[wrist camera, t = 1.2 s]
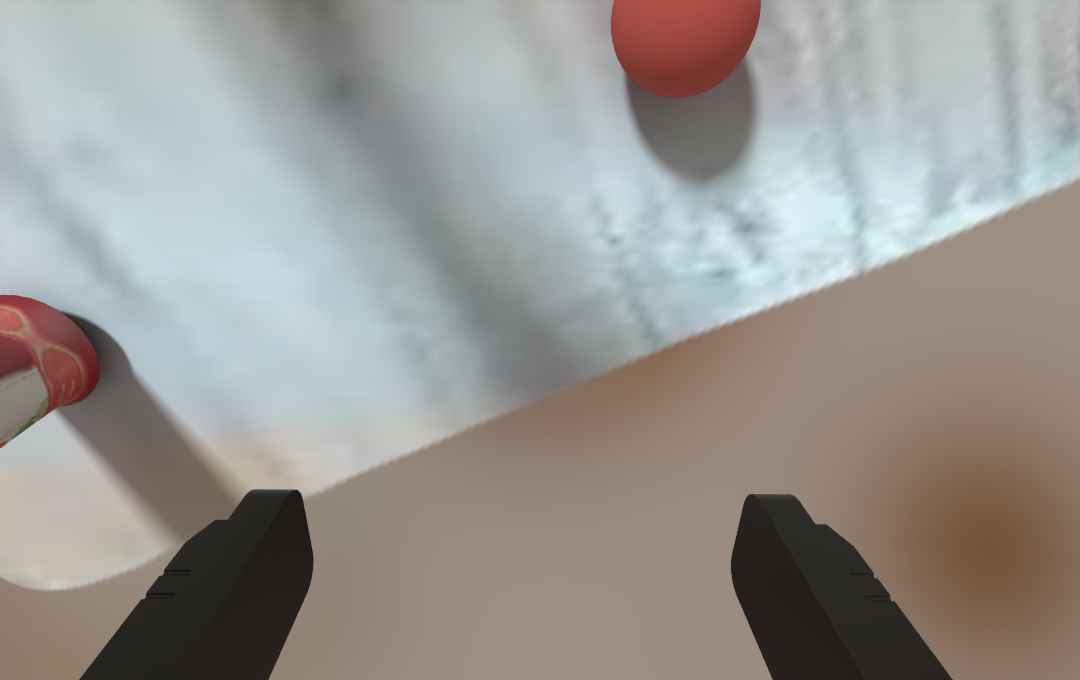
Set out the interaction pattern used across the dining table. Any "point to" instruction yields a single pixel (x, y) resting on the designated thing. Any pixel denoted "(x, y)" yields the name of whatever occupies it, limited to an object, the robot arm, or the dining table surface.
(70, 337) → the red condiment bottle
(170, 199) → the dining table surface
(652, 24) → the ball
